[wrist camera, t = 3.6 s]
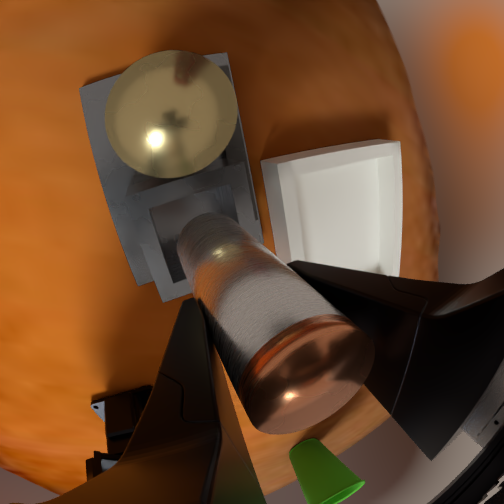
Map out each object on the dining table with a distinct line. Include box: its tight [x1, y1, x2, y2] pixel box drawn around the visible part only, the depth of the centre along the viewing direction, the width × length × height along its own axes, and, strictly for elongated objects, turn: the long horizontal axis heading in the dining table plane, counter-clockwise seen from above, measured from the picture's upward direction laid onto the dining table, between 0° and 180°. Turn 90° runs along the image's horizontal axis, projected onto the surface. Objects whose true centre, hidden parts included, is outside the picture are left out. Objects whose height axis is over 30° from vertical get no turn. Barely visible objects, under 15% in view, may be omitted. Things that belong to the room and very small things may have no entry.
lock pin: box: [177, 212, 375, 434], centre depth 9 cm, size 3×3×9 cm
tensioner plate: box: [79, 50, 264, 303], centre depth 15 cm, size 13×9×5 cm
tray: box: [260, 139, 402, 277], centre depth 22 cm, size 14×11×2 cm
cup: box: [289, 438, 365, 504], centre depth 32 cm, size 9×9×11 cm
